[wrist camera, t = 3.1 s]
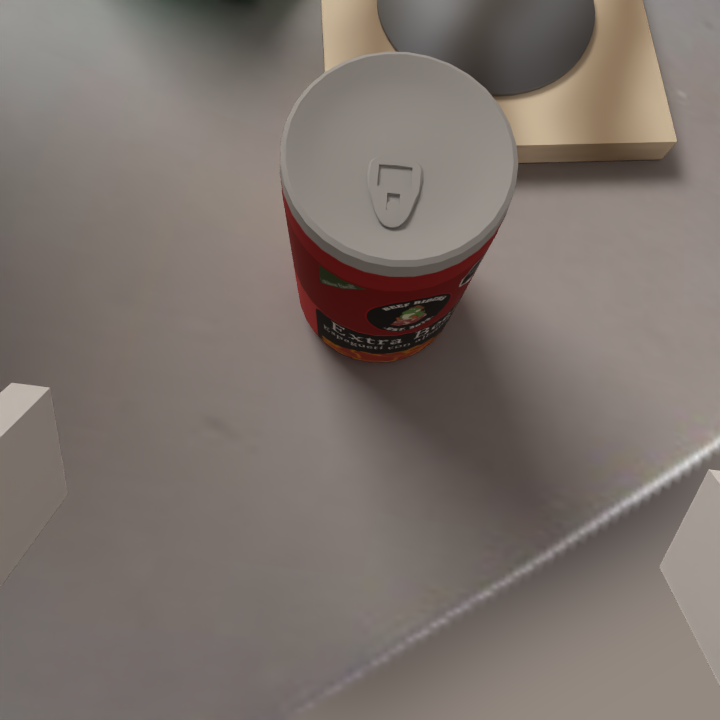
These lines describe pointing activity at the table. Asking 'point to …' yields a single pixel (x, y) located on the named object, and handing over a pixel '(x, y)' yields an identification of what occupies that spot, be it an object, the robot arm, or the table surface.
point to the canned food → (392, 198)
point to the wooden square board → (531, 66)
